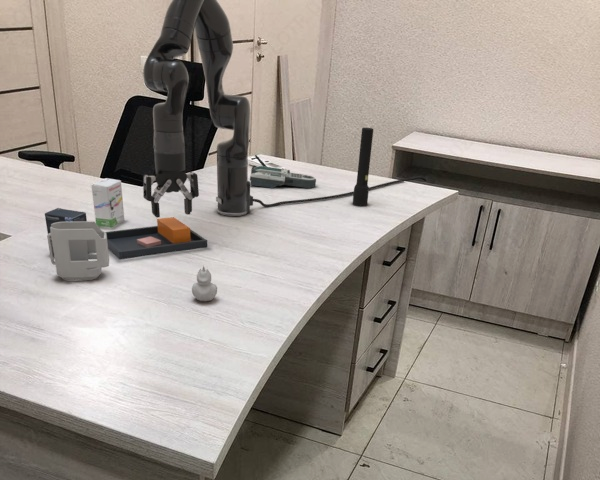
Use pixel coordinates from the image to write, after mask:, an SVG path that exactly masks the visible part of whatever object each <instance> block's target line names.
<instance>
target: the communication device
mask: <svg viewBox="0 0 600 480" xmlns="http://www.w3.org/2000/svg"><path fill="white" fill-rule="evenodd" d="M254 157H255V159H257V161H258V162H259V164H261V165H258V166H257V165H255V164H253V165H252V167H251V170H250V175H249V181H250V186H256V187H262V188H270V189H274V188H276V187H277V186H289V187H290V186H291V187H296V188H303V189H312V188H314V187H315V186H316V185H317V184H316V183H317V178H315V177H314V176H312V175H309V174H304V173H296V172H291V170H290V169H287V168H278V167H273V166H267V165H266V163H264V162H263V160H261V158H260V157H259V156H258V155H257V154H255V155H254Z"/></svg>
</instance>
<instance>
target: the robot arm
mask: <svg viewBox="0 0 600 480" xmlns="http://www.w3.org/2000/svg"><path fill="white" fill-rule="evenodd" d="M194 32H195V33H194ZM159 34H160V35H159V37H158V38H157V40H156V42H155V44H154V45H153V47H152V48H151V50H150V52H149V53H148V55H147V57H146V59H145V62H144V64H143V70H142V74H143V75H142V76H143V81H144V84H145V85H146V87H147V88H148V89H149V90H151V91H154V92H158V93H159V92H160V93H167V97H166V100H165V102H158V103H156V104H154V105H153V108H152V118H153V120H152V122H153V146H152V148H153V155H154V156H153V157H154V170H155V173H154V175H148V174H144V175H143V176H142V186H143V188H142V190H143V191H142V192H143V197H142V198H143V199H145V200H146V201H147V202H150V205H151V213H152V215H153V216H154V217H155V218H156V219H159V218H161V212H160V200H161V198H162V197H164V195H165V193H166V194H170V193H173V192H174V193H179V192H180V193H181V194H182V195H183V197H184V198H183V206H184V214H186V215H191V213H192V211H193V199H194V198H198V197H200V192H199V191H200V189H199V178H198V177H199V176H198V174H197V173H195V172H194V171H190V172H189V173H186V149H185V147H186V145H185V143H186V142H185V134H184V121H183V119H184V117H183V113H184V107H185V103H186V97H187V93H188V88H189V81H190V77H189V76H190V75H189V72H188V71H189V70H188V69H187V67H186V65H185V63H183V61H181V60H178V59H175V58H178V57H183V56H185V55H187V54H188V52H189V50H190V47H191V43H192V40H193V36H194V34H195V40H196V44H197V49H198V52H199V55H200V56H199V57H200V59H201V64H202V69H203V75H204V80H205V87H206V93H207V101H208V110H209V115H210V119H211V122H212V124H213V126H214V127H215V128H217V129H220V130H227V131H233V133H232V134H233V135H232V137H231V138H229V139H228V140H224V141H221V142H218V143H217V145H216V176H217V177H216V181H217V183H216V185H217V186H216V188H217V193H216V194H217V196H215V202H216V203H217V205H216V206H217V209H216V210H217V214H219V215H222V216H226V217H227V216H228V217H240V216H241V217H242V216H245V215H247V214H251V207H252V206H254V203H258V204H260V206H262V207H265V208H272V207H277V206H280V205H287V204H288V205H289V204H298V203H299V204H300V203H308V202H309V203H310V202H316V201H323V200H325V201H326V200H330V199H336V198H342V197H347V196H351V195H353V194H354V190H353V191H349V192H344V193H340V194H334V195H328V196H327V195H326V196H321V197H314V198H313V197H312V198H305V199H303V198H302V199H294V200H283V201H278V202H274V203H268V204H267V203H264V201H262V200H261V199H257V198H254V196H252V195H251V181H250V180H248V179H249V178H248V177H249V175H248V174H249V173H248V171H249V166H248V165H249V145H250V131H251V129H250V128H251V114H252V113H251V103H250V100H249V99H248V97H246V96H243V95H235V94H226V93H225V91H224V87H223V78H224V75H225V72H226V70H227V67H228V65H229V63H230V61H231V58H232V55H233V51H234V42H233V36H232V30H231V24H230V21H229V18H228V16H227V13H226V12H225V10H224V9H223V7H222V6H221V5H220V3H219V2H218V0H171V2H170V4H169V5H168V7H167V10H166V12H165V15H164V19H163V23H162V26H161V30H160V33H159ZM418 179H420V180H423V181H424V182H427V181H428V179H426V178H425V177H424V176H422V175H420V176H419V175H418V176H413V177H409V178H402V179H397V180H393V181H388V182H385V183H381V184H376V185H373V186H368V187H369V191H370V190H375V189H377V188H378V189H379V188H381V187H385V186H389V185H394V184H399V183H402V182H409V181H414V180H418ZM187 180H188V181H187ZM186 181H187V182H189V186H190V187H189V188H190V191H189V189H188V188H187V187H186V185H185V183H186ZM154 182H155V183H156V184H157V185H155V188H154V190H153V192H152V186H153V185H154Z"/></svg>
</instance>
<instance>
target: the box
mask: <svg viewBox="0 0 600 480" xmlns="http://www.w3.org/2000/svg"><path fill="white" fill-rule="evenodd" d="M44 218H45V225H46V231H47V235H48V234H49V233H50V232H51V231H50V227H51V224H53V223H56V222H83V221H88V220H87V212H86V211H80V210H79V211H78V210H72V209H66V208H61V207H56V208H54V209H51V210H49V211H47V212H45V213H44ZM50 240H51V246H52V252H53V245H52V239H51V236H50ZM53 257H54V252H53Z"/></svg>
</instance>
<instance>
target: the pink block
mask: <svg viewBox="0 0 600 480" xmlns="http://www.w3.org/2000/svg"><path fill="white" fill-rule="evenodd" d="M137 243H138V244H140V245H143V246H145V247H152V246H156V245H160V244H161V240H159V239H156V238H154V237H151V236H150V237H146V238H142V239H137Z"/></svg>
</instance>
